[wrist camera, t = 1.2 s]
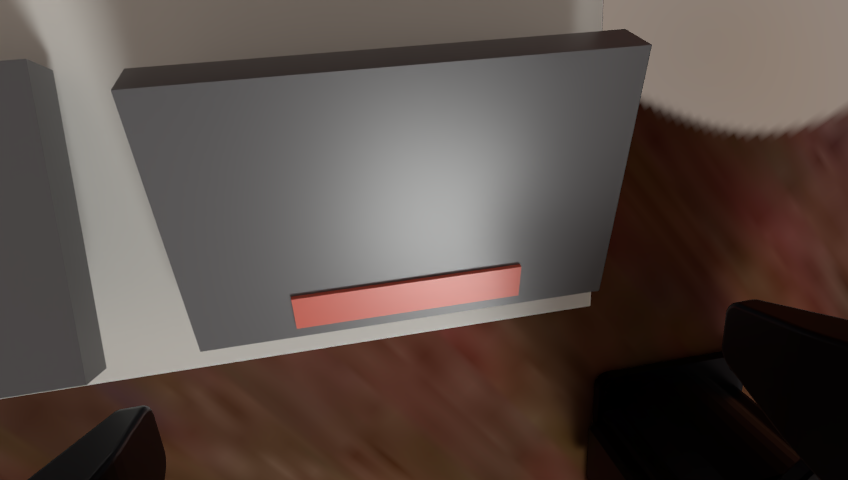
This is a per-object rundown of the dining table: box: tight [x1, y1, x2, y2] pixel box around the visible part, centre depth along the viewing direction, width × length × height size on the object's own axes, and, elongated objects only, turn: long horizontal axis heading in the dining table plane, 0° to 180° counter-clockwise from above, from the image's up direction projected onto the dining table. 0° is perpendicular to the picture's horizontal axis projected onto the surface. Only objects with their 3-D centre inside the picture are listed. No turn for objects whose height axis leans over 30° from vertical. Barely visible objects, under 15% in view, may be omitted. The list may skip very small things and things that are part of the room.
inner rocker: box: [111, 29, 652, 352], centre depth 14 cm, size 11×7×1 cm, turn 93°
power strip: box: [0, 0, 603, 399], centre depth 16 cm, size 25×10×4 cm, turn 93°
